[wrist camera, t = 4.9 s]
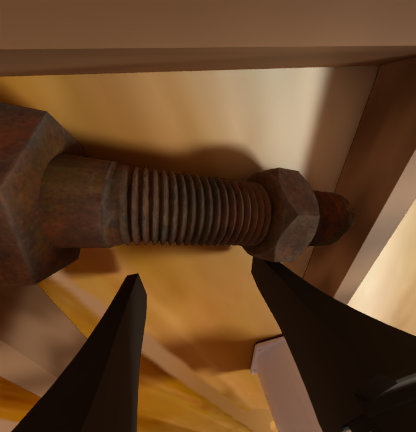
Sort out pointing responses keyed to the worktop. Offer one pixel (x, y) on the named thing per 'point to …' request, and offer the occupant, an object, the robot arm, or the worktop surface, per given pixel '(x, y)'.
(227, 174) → the worktop surface
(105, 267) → the worktop surface
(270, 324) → the worktop surface
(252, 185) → the bolt
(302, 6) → the u-shaped bracket
